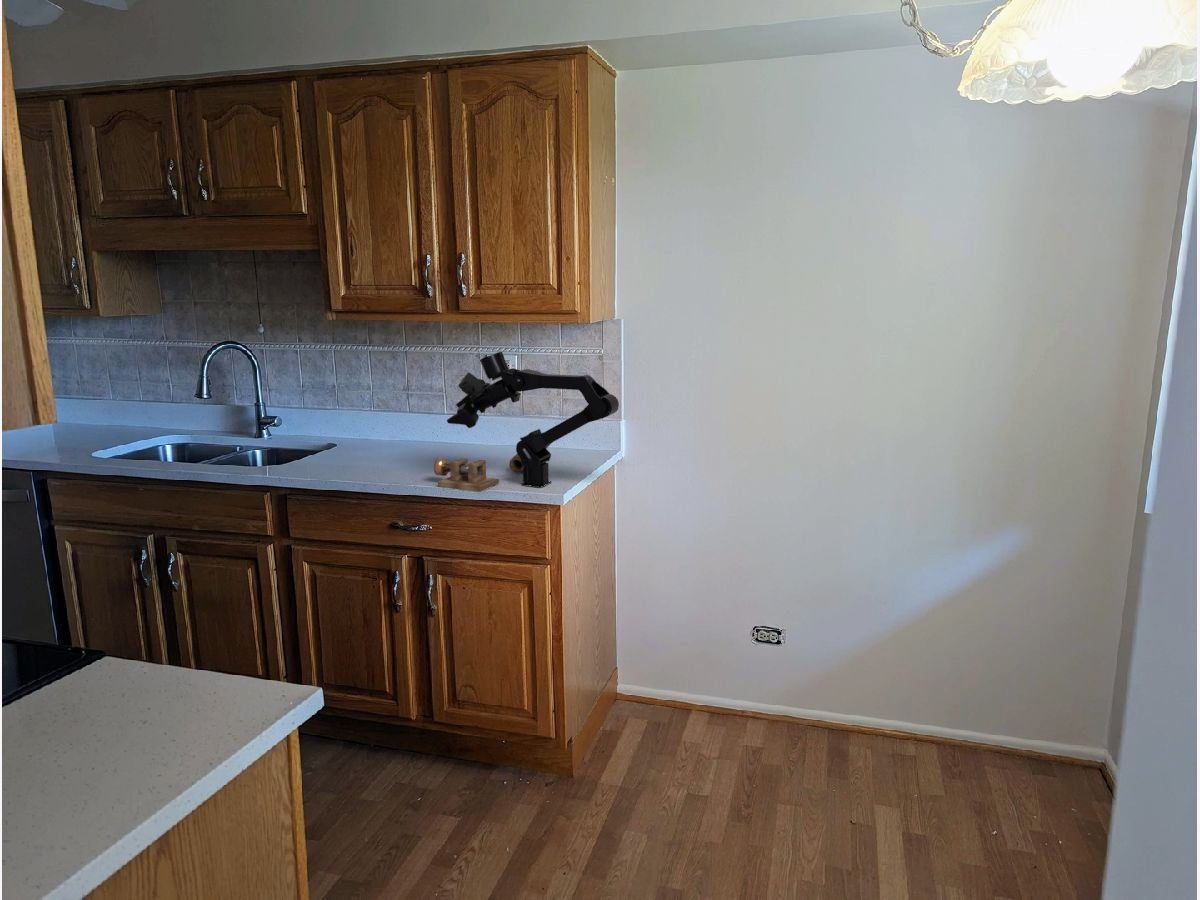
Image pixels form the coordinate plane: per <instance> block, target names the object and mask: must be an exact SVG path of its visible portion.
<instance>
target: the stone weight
mask: <svg viewBox="0 0 1200 900" xmlns="http://www.w3.org/2000/svg"><path fill="white" fill-rule="evenodd" d="M508 465H509V468H510V470H511V471H512V472H514V473H520V472H521V473H523V468H524V466H523V465H522V462H521V459H520V457H519V456H518V454H517V453H516V454H515V455H514V456H512V458H511V459H510V460H509V464H508Z"/></svg>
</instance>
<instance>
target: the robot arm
mask: <svg viewBox="0 0 1200 900" xmlns="http://www.w3.org/2000/svg"><path fill="white" fill-rule="evenodd" d="M479 362H480V364H481V366H482V369H483V370H484V373H485V377H486V378H487V379H488V380H491V381H493V383H490V382H486V381H485V380H484V379H481V378H477V377H476V376H475V375H474V374H473V373H471V372H467V373H466V374H465V375H464V377H462V379H461V381H460V382H459V384H458V387H459V389H460V390H461V391H462V392H463V393H464V394H465V396H464V397H463V398H461V399H460V401H458V402H457V403H456V404H455V406H456V407H457V408H458V409H456V413H455V414H453V415H451V416H450V417H449V418H448V419H446V422H447V424H451V425H462V426H466V427H467V428H468V429H471V428H473V427H475V426H476V425H477V423H478V421H479V419H480V416H479V414H478V412H479V411H480V413H481V414H484V413H485V412H486V410H487V409H488V408H491V407H492V408H493V409H494V408H496V407H497V406H498V404H499V403H502V402H504V401H506V400H508V399H510V401H511V403H513V404H514V403H516V402H519V401H520V398H521V393H522V392H527V391H533V390H538V389H552V390H553V389H554V390H571V391H572V390H573V391H579V392H580V393H581V394H582V397H583V398H584V400H585V402H586V403H587V405H586V406H585V407H584V409H582V410H581V411H579V412H578V413H575V414H574V415H573V416H571V417H569V418H568V419H566V420H563V421H562V422H560V423H558V424H556V425H555V426H553V427H551V428H549V429H547V430H545V431H544V432H542V431H541V428H538V429H535V430H533V431H531V432H529V433H528V434H527V435H524V436H522V437H520V438H519V441H517V443H516V446H515V451H516V454H518V456H519V457H520V459H521V462H522V465H523V466H524V468H523V472H522V483H521V486H524V485H531V486H530V487H533V486H539V487H538V488H542V487H541V486H543V487H545V486H546V485H545V484H548V483H550V482H551V483H552V480H549V479H550V478H549V477H550V475H549V474H550V473H549V472H550V471H549V461H550V460H551V457H552V453H551V452H550V451H549V450H548V449H547V448H549V447H550V446H551V444H553V443H554V442H556V441H558V440H559V439H561V438H564V437H565V436H567V435H568V434H571V433H573V432H575V431H576V430H578V429H580V428H581V427H583V426H585V425H587V424H589V423H592V422H596V421H598V420H602V419H604V418H607V417H609V416H611V415H614V414H615V413H617V412H618V410H619V407H620V403H619V400H618V398H617V396H615V395H614V394H611V393H610V392H608V389H606V388H604V387H603V386H602V385H601V384H599V382H597V381H596V380H595V379H594V378H593V377H592V376H591V375H589V374H584V375H580V374H579V375H578V374H577V375H576V374H575V375H574V374H554V373H553V374H552V373H551V374H550V373H549V374H548V373H542V372H540V371H538V370H533V369H530V368H526V369H517V368H513V367H512V368H509V367H508V364H507V361H506V359H505V356H504V353H503V352H502V351H499V352H496V353H493V354H491V355H487V356H485V357H483V358H480V359H479ZM498 379H499V380H498ZM495 380H497V381H495ZM494 381H495V382H494ZM549 481H550V482H549ZM551 483H550V484H551ZM544 485H545V486H544ZM548 485H549V484H548Z"/></svg>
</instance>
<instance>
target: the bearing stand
mask: <svg viewBox="0 0 1200 900" xmlns="http://www.w3.org/2000/svg"><path fill="white" fill-rule="evenodd" d="M449 464H450V472H449V473H450V476H449V477H446V478H444V479H441V480H438V481H437V488H446V489H452V490H454V489H455V490H461V491H470V492H477V493H478V492H479V493H480V492H483V491H485V490H488V489H490V488H489V487H491V486H493V485H496V484H498V483H499V484H500V479H499V478H495V477H494V478H493V477H488V476H487V461H486V460H483V459H478V460H476V461H473V462H470V463H469V459H468V458H465V457H460V458H459V459H455V460H452V461H450V462H449ZM459 465H467V466H468V474H462V473H459ZM477 468H478V473H477ZM499 484H498V485H499ZM496 486H497V485H496ZM493 487H494V486H493ZM487 488H488V489H487ZM491 488H492V487H491Z"/></svg>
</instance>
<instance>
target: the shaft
mask: <svg viewBox="0 0 1200 900" xmlns="http://www.w3.org/2000/svg"><path fill="white" fill-rule="evenodd" d="M449 461H450V460H449V459H447V458H442V457H437V459H435V461H434V464H433V472H434V474H435V475H436V476H442V477H445V476H447V475H448V473H450V462H449ZM459 473H462V474H468V466H467V465H459ZM477 473H478V468H477Z"/></svg>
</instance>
